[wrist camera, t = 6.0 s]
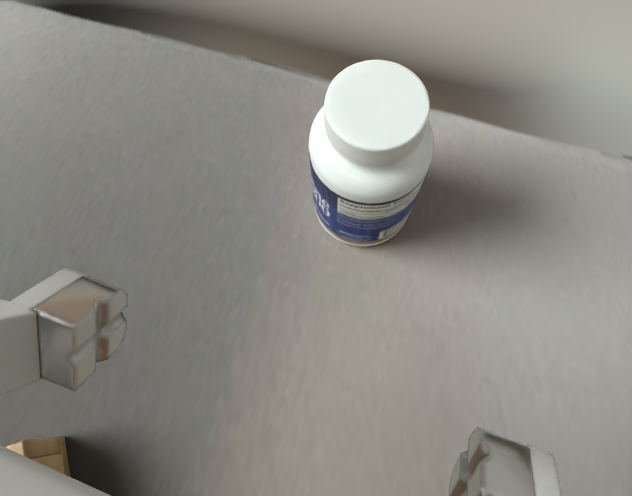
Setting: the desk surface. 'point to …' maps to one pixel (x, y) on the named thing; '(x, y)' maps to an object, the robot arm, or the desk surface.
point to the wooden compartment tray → (45, 452)
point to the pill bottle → (370, 151)
